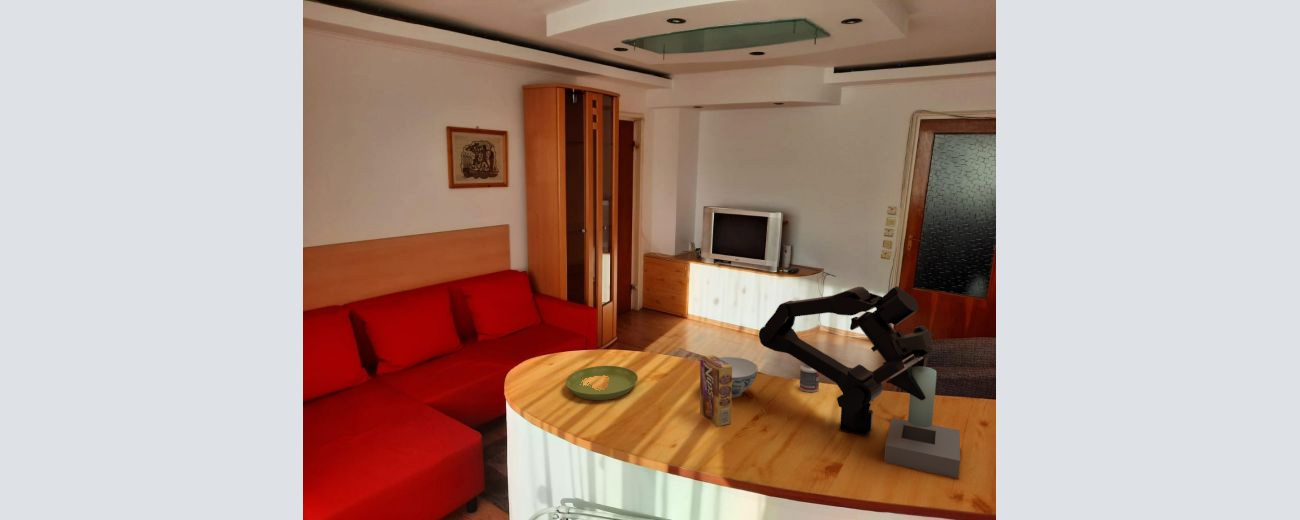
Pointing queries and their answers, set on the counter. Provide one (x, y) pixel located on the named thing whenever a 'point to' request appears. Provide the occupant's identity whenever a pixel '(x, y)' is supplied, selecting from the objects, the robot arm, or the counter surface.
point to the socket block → (923, 447)
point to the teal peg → (924, 408)
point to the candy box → (715, 390)
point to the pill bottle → (808, 379)
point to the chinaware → (741, 374)
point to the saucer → (617, 386)
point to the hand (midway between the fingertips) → (928, 395)
